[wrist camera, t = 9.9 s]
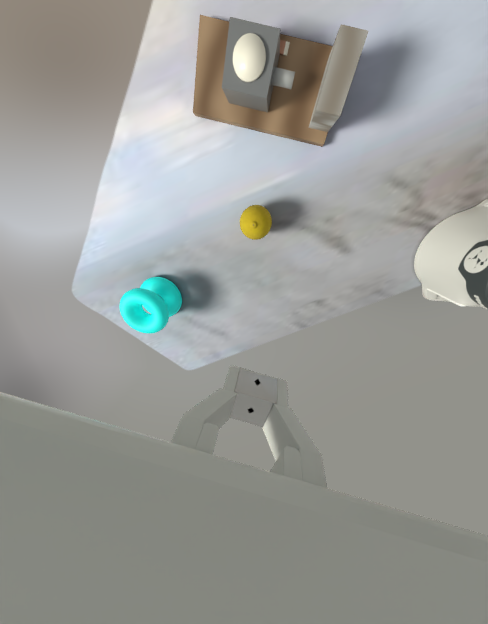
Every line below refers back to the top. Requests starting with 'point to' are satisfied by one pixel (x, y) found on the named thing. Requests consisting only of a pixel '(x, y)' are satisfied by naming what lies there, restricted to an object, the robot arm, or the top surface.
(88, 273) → the top surface
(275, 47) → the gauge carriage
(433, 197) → the top surface
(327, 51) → the bench
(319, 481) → the robot arm
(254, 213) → the lemon
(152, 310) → the donuts
